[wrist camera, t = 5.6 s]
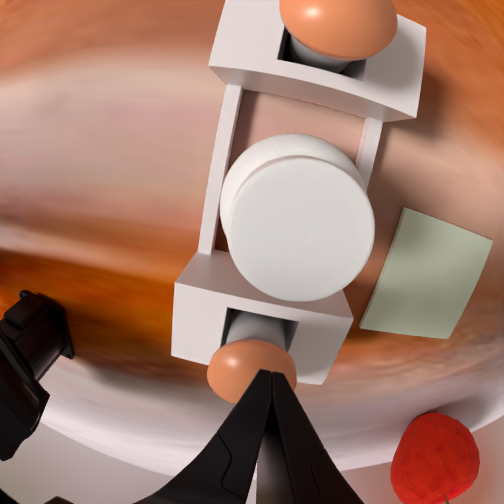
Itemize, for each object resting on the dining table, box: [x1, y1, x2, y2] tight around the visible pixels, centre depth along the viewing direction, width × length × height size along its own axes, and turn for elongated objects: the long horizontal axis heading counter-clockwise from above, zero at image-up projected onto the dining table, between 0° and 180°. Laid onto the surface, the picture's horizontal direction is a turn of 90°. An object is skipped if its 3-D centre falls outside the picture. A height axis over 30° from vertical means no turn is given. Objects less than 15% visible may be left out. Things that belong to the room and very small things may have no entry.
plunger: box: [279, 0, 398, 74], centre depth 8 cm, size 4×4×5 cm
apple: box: [391, 412, 480, 504], centre depth 18 cm, size 10×10×12 cm
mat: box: [359, 207, 493, 339], centre depth 17 cm, size 9×9×1 cm
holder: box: [171, 0, 426, 385], centre depth 14 cm, size 20×9×5 cm, turn 169°
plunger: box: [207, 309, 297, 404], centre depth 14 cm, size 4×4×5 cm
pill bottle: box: [220, 133, 375, 302], centre depth 12 cm, size 5×5×10 cm
